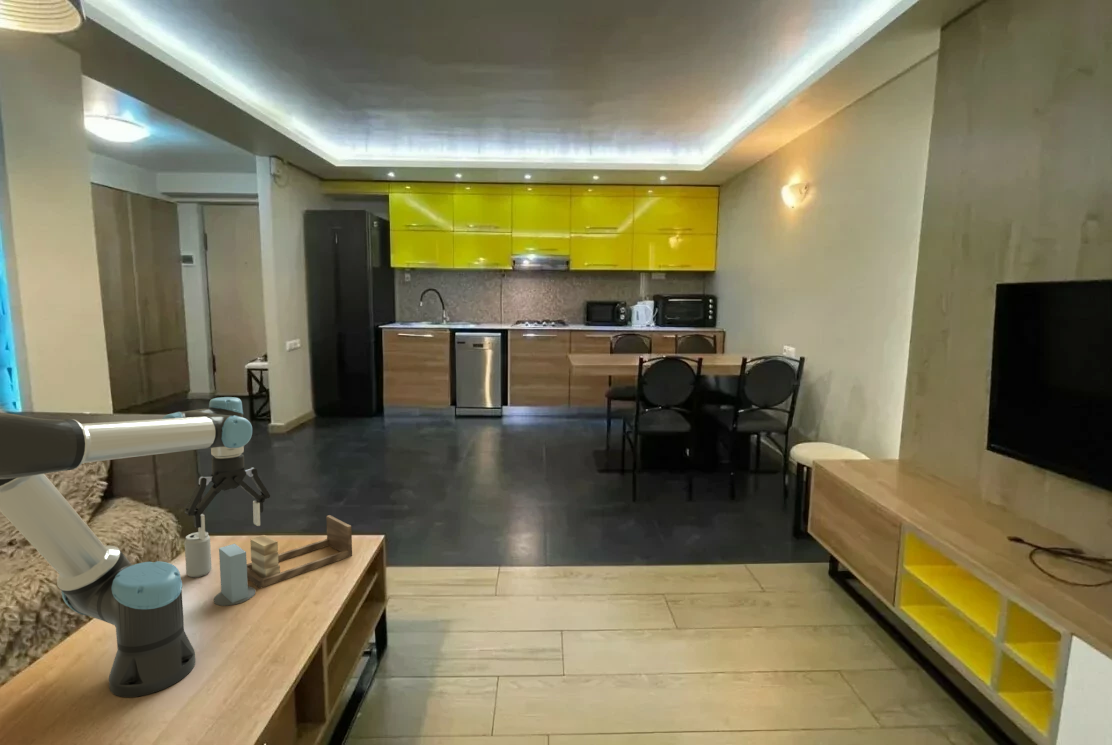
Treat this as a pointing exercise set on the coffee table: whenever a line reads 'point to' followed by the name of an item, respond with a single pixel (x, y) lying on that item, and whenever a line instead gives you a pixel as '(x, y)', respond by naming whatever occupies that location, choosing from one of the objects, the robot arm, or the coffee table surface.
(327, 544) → the rack
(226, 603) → the coaster
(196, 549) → the beverage can
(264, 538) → the offcut
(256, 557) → the offcut
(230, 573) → the light blue block
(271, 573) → the offcut
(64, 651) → the coffee table surface
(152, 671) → the robot arm
